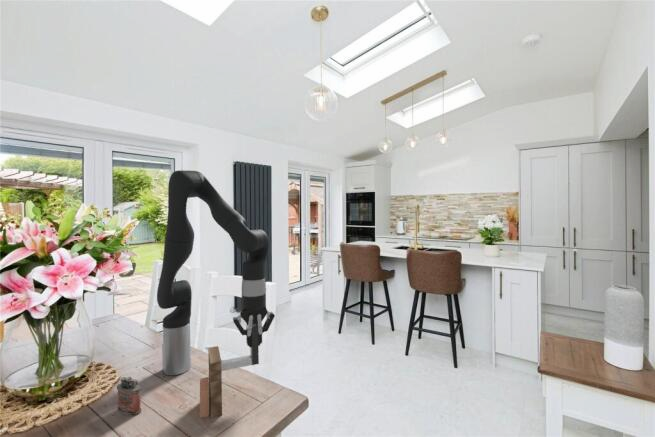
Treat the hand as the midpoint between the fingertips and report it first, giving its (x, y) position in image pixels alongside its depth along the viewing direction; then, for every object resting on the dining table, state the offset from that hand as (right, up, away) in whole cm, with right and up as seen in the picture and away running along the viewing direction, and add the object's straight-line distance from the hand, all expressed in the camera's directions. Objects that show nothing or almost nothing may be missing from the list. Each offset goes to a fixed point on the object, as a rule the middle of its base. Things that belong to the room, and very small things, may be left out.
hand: (254, 345), depth 100 cm
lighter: (-36, -17, -7) cm, 40 cm away
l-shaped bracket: (-5, -6, -2) cm, 8 cm away
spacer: (-14, -17, -6) cm, 23 cm away
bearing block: (-11, -17, -4) cm, 20 cm away
